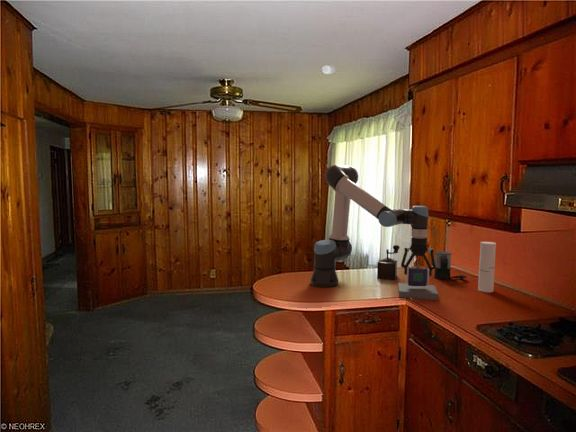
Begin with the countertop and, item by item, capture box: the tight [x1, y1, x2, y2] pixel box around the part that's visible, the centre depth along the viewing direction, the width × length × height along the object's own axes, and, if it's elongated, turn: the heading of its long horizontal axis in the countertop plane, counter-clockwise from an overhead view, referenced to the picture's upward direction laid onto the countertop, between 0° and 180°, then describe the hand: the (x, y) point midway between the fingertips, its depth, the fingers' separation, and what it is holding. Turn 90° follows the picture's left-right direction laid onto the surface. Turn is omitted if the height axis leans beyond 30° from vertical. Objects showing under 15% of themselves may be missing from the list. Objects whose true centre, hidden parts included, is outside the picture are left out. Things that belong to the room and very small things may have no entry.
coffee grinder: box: [376, 244, 401, 281], centre depth 237 cm, size 16×11×18 cm
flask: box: [407, 264, 428, 286], centre depth 202 cm, size 9×3×11 cm, turn 88°
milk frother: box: [433, 251, 467, 280], centre depth 232 cm, size 14×16×15 cm
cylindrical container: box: [477, 241, 497, 293], centre depth 208 cm, size 7×7×25 cm
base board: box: [397, 282, 439, 301], centre depth 203 cm, size 18×15×3 cm
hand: (417, 281), depth 202 cm, fingers closed on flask, 9 cm apart
